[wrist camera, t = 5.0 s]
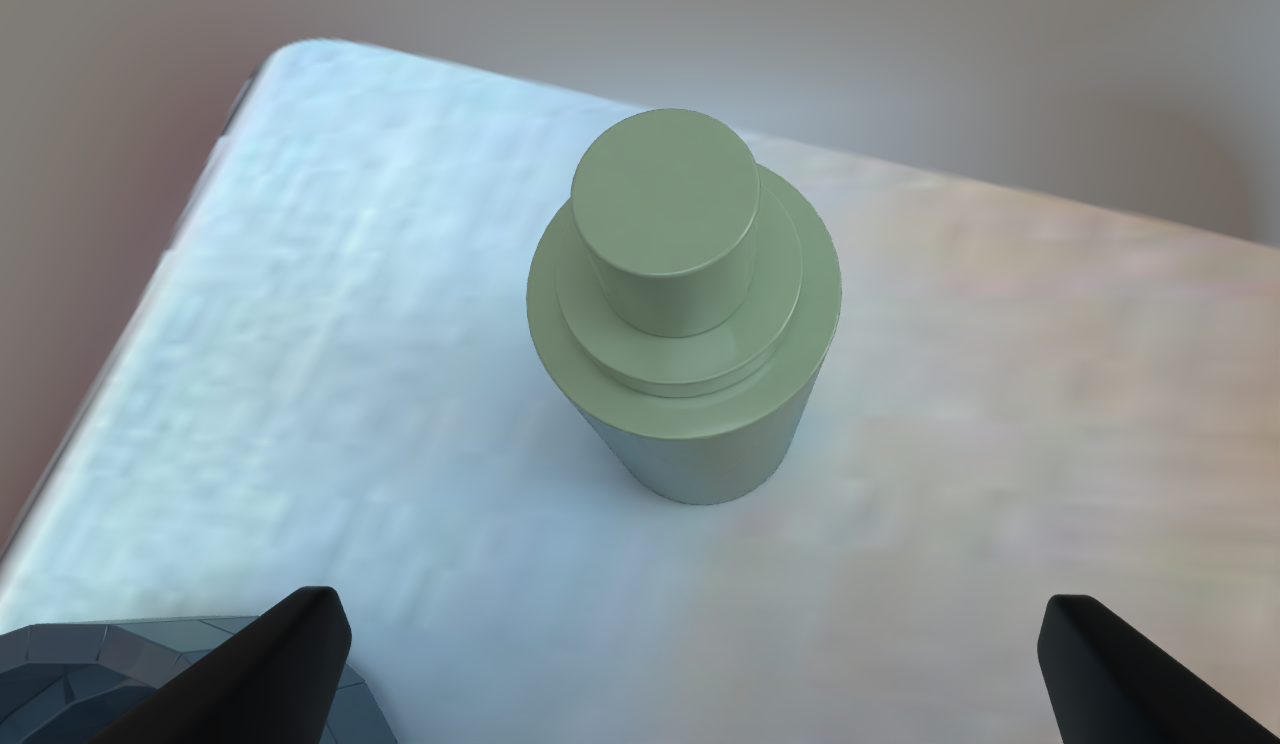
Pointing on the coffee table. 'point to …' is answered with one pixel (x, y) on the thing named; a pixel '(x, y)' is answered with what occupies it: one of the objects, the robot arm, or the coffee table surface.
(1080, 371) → the coffee table surface
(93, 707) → the pot
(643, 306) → the capped bottle
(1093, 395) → the coffee table surface
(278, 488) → the coffee table surface
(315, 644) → the robot arm
